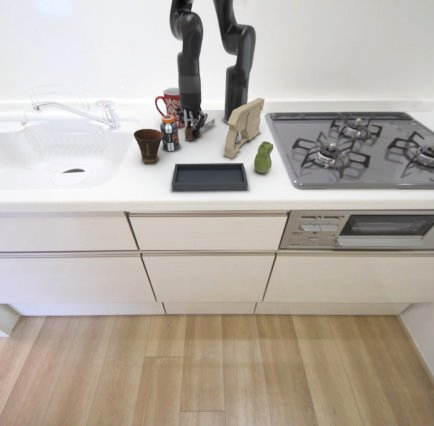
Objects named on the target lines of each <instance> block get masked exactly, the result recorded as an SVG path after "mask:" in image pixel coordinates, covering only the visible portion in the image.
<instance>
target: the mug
mask: <svg viewBox="0 0 434 426" xmlns="http://www.w3.org/2000/svg"><path fill="white" fill-rule="evenodd" d="M162 93H163V95H157V96H156V97H155V99H154V106H155V108H156V110H157V111H158V113H159V114H160V116H162V117H163V116H166V115H171V116H173V117H174V122H176V123H177V127H178V129H180V128H181V129H182V128H184V127H185V125H184V124H182V123H181V121H180V119H179V116H178V114H177V111H176V108H178V107H180V106H181V103H180V96H179V87H176V86H175V87H167V88H165V89H163V90H162ZM158 100H162V101H163V103H164V105H165V110H166V115H165V113H163V112H162V110H161V109H160V108H159V106H158ZM182 118H183V117H182ZM183 120H184V118H183Z"/></svg>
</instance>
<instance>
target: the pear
mask: <svg viewBox="0 0 434 426" xmlns="http://www.w3.org/2000/svg"><path fill="white" fill-rule="evenodd" d="M273 149H274V144H273V143H271V142H270V141H267V140H264V141H262V142H261V143H260V144H259V146H258V148H257V153H256V154H255V157H254V161H253V167H254V170H255V171H256V173H257V172H258V173H259V174H265V173H267V172H269V171H270V170H271V168H272V163H273V162H272V158H271V153H272V152H273Z"/></svg>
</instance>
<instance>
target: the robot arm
mask: <svg viewBox="0 0 434 426" xmlns="http://www.w3.org/2000/svg"><path fill="white" fill-rule="evenodd" d="M194 2H195V0H171V4H170V10H169V20H168V22H169V28H170V33H171V34H172V36H173V38H174V39H176V40H177V41H180V42H182V45H181V47H182V49H181V51H180V52H178V53H177V54H176V55H177V56H176V64H177V65H176V66H177V85H178V88H179V96H180V103H181V106H180V107H178V108H176V111H177V114H178V116H179V119H180V121H181V123H182V124H184V125H185V126H184V127H185V129H187V128H189V127H190V126H192V125H193V134H194V138H195V139H194V140H197V139H198V138H199V137H200V136H199V129H201V128H202V127H203V126H204V124H206V123H207V119H208V116H209V115H208V113H205V112H203V111H202V108H201V107H202V106H201V105H202V79H201V68H200V67H201V65H200V57H201V52H202V46H203V40H204V25H203V21H202V19H201V17H200V15H199V14H198V13H197V12H195V11H192V9H193V5H194V4H193V3H194ZM212 2H213V7H214V11H215V15H216V19H217V25H218V30H219V34H220V35H219V36H220V40H221V44H222V47H223V50H224V52H225V53H227V54H228V55H231V56H234V57H235V56H236V60H235V64H234V65H230V66H228V67H226V70H225V88H224V110H223V111H224V112H223V122H224V123H226V124H227V123H228V121H229V118H230V116H231V114H232V112H233V110H235V109H237V108H239V107H241V106H242V105H244V104H245V105H246V104H247V103H248V100H249V96H248V95H249V87H250V77H251V71H252V68H253V64H254V59H255V58H254V57H255V50H256V44H257V32H256V29H255V27H254V26H253V25H251V24H243V23H238V22H237V19H236V15H235V10H234V9H235V8H234V0H212ZM182 117H183V118H184V120H183V118H182Z"/></svg>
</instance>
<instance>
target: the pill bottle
mask: <svg viewBox="0 0 434 426" xmlns="http://www.w3.org/2000/svg"><path fill="white" fill-rule="evenodd" d="M159 128H160V132H161V133H162V134H163V138H162V140H161V143H162V148H163V150H164V151H167V152H175V151H177V150H179V149H180V139H179V128H178V127H177V123H176V122H174V117H173V116H171V115H167V114H166V115H165V116H162V117H161V123H160V124H159Z"/></svg>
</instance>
